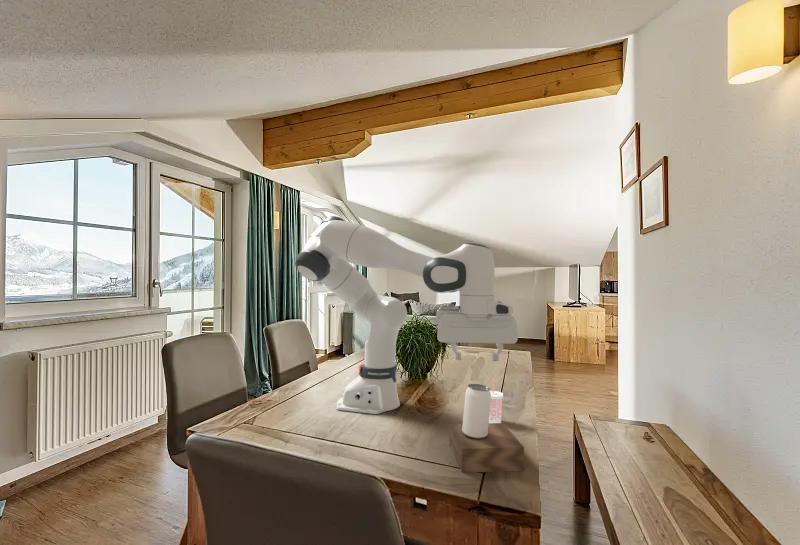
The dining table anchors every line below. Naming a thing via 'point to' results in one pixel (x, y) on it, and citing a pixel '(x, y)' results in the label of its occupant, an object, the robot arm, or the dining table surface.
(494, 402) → the beverage cup
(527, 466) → the dining table surface
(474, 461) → the riser block
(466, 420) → the can
